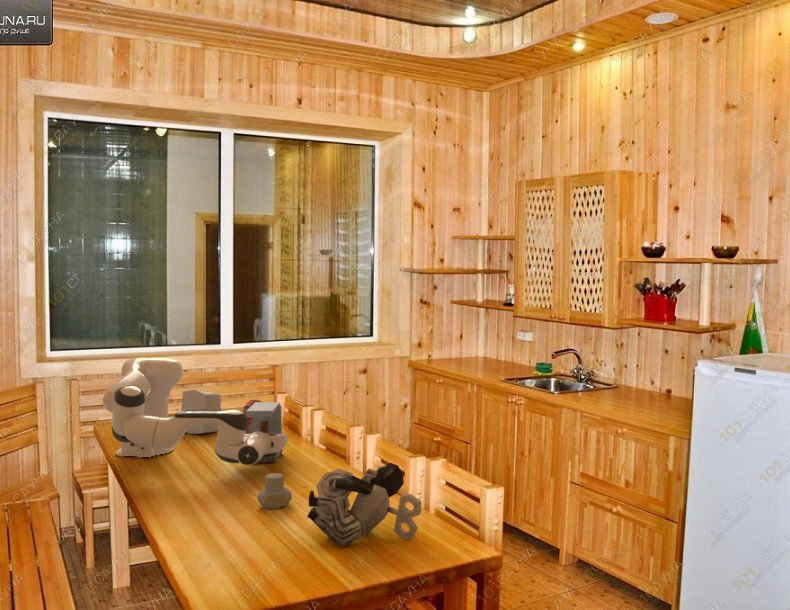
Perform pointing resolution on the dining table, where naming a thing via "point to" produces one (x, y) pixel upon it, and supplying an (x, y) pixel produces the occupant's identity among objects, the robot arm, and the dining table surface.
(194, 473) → the dining table surface
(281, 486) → the air freshener
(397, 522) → the toy
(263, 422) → the peg
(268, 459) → the socket
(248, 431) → the toy gun
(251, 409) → the gray cantilever bracket
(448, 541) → the dining table surface
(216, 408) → the electrical switch box
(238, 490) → the dining table surface
